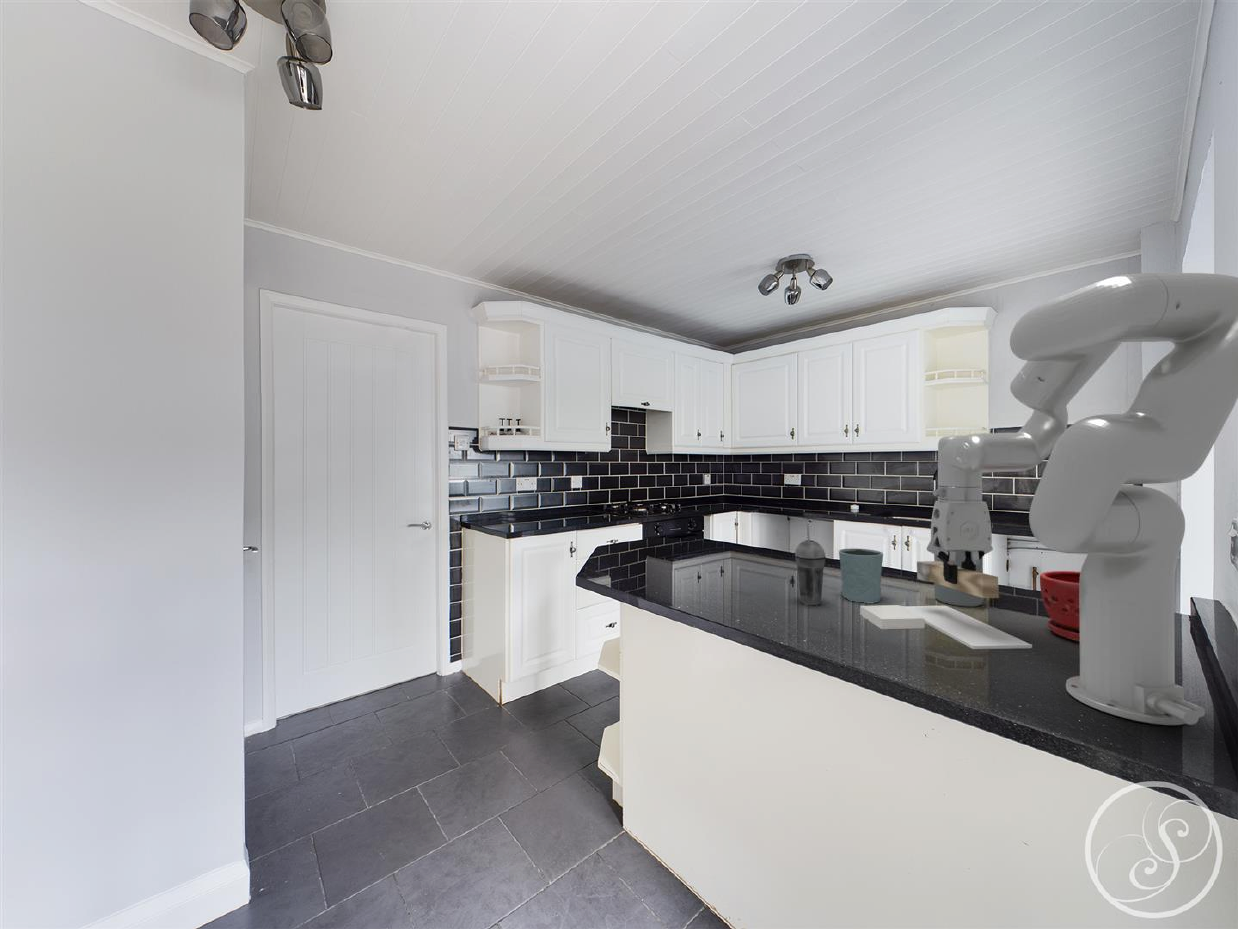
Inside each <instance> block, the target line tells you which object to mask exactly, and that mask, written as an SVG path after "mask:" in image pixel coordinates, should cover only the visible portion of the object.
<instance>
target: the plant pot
mask: <svg viewBox="0 0 1238 929" xmlns="http://www.w3.org/2000/svg"><path fill="white" fill-rule="evenodd" d="M1080 573H1081V571H1074V570H1071V571H1070V570H1054V571H1051V570H1050V571H1045V572H1042V573H1040V575H1039V588H1040V594H1041V598H1042V603H1043V605H1044V608H1045V611H1046V613H1047V614H1048V615H1049V617H1050V620H1048V621H1047V625H1048V628H1049V629H1050V630H1051V631H1052V632H1053V633H1054V634H1057V635H1058V636H1061V637H1063V638H1066V639H1069V640H1071V641H1075V642H1077V643H1080V605H1079V582H1080Z"/></svg>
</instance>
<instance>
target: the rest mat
mask: <svg viewBox="0 0 1238 929" xmlns="http://www.w3.org/2000/svg"><path fill="white" fill-rule="evenodd" d="M901 606H902V605H901ZM902 607H904V608H906V609H908V610H910V611H912V612H913V613H915V614H917V615H919V616H921V617H923V618H925V625H927V626H929V627H932V628H933V629H935V630H937V631H938V632H940V633H942V634H944V635H947V636H948V637H950V638H952V639H953V640H955V641H956V642H959V643H960V644H963V645H964V646H966V647H968V648H970V649H971V650H1004V649H1005V650H1008V649H1011V650H1012V649H1013V650H1014V649H1032V648H1033V644H1032V643H1031V644H1030V643H1028V642H1026V641H1024V640H1022V639H1020V638H1018V637H1016V636H1013V635H1011V634H1008V633H1006V632H1005V631H1003V630H1000V629H998V628H996V627H994V626H992V625H989V624H987V623H985V622H983V621H981V620H979V619H976V618H974V617H972V616H970V615H968V614H965V613H963V612H961V611H958V610H956V609H954V608H952V607H950V606H947V605H911V606H910V605H909V606H908V605H907V606H906V605H905V606H902Z"/></svg>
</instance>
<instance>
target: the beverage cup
mask: <svg viewBox="0 0 1238 929" xmlns="http://www.w3.org/2000/svg"><path fill="white" fill-rule="evenodd" d="M809 525H810V524H809V522H807V523H806V536H807V539H806V540H803V541H802V542H800V543H799V544H798V545H797V547H796V549H795V551H794V552H795V553H794V557H795V563H796V567H797V568H796V569H797V578H798V589H799V595H800V602H802V603H804V604H803V605H805V604H808V605H807V606H811V605H816V606H819V605H818V604H820V603H821V601H822V596H823V595H822V593H823V592H822V591H823V580H824V567H825V563H826V559H827V557H826V553H825V550H824V548H823V547H822V545H821V544H820V543H819V542H817V541H815V540H812V539H810V526H809ZM802 603H801V604H802ZM820 605H821V604H820Z"/></svg>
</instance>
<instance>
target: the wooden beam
mask: <svg viewBox="0 0 1238 929" xmlns="http://www.w3.org/2000/svg"><path fill="white" fill-rule="evenodd" d="M916 573H917V574H916V575H917V577H916V578H917V580H920V581H923V582H931V583H934V584H935V583H937V584H940V585H943V586H946V587H949V588H953V589H956V590H959V591H962V592H965V593H968V594H972V595H975V596H978V597H981V598H983V599H999V598H1000V593H999V576H996V575H992V574H989V573H988V574H987V573H985V572H983V573H980V572H976V571H972V570H968V569H964V568H960V567H958V571H957V584H952V583H949V582H947V581H945V580H944V576H943V562H940V561H934V560H929V561H928V560H927V561H926V560H925V561H924V560H923V561H916Z"/></svg>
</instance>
